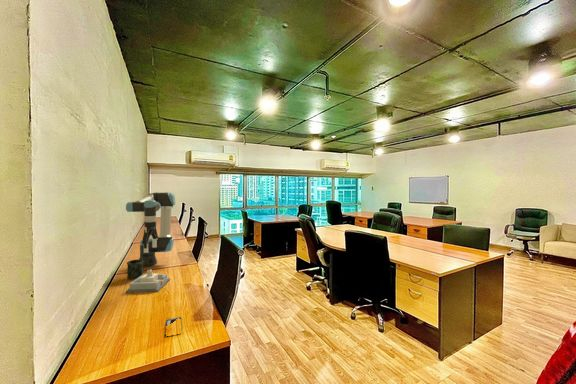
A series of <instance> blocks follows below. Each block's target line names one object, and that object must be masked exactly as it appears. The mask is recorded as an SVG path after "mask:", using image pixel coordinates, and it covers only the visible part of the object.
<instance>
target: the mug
mask: <svg viewBox="0 0 576 384" xmlns="http://www.w3.org/2000/svg"><path fill="white" fill-rule="evenodd" d="M143 261H144V260H141V259H132V260H128V261H127V262H126V265H127V269H126V271H127V272H126V273H127V275H126V277H127V280H136V279H137V278H138V277H140V276H141V275H144V267H143Z"/></svg>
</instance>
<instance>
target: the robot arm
mask: <svg viewBox="0 0 576 384" xmlns="http://www.w3.org/2000/svg"><path fill="white" fill-rule="evenodd" d="M175 205H176V196H175V194H174V192H152V193H149V194H146V195H143V197H142V198H140V199H138V200H136V201H130V202H129V201H128V202H127V203H126V204H125V211H126V212H127V213H143V214H144V217H143V220H144V224H143V225H144V227H145V228H146V229H144V231H143V235H142V239H141V240H140V241H139V257H138V258H139V259H141V260H144V261H143V268H147V267H152V266H155V265H157V264H158V259H157V257H156V253H167V252H168V253H169V252H171V251H172V250H173V248H174V244H175V240H174V238H173V236H172V235H171V226H172V225H171V224H172V223H171V222H172V209H173V207H174V206H175ZM158 211H160V218H159V219H160V221H159V233H158V231H157V212H158ZM158 234H159V235H158Z"/></svg>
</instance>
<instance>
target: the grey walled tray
mask: <svg viewBox="0 0 576 384" xmlns="http://www.w3.org/2000/svg"><path fill="white" fill-rule="evenodd" d="M144 275H145V274H143V275H141V276H140V277H138V278H137V279H133V281H131V282H130V283H129V288H128V289H127V290H125V293H127V294H129V293H130V294H131V293H132V294H133V293H151V292H152V293H156V292H157V293H158V292H159V291H160V290H161V289H163V288H164V287H165V286H166V285H167V284H168V283H169V282H170V281H171V278H168V274H167V273H158V280H157V281H156V282H143V283H140V278H141V277H142V276H144ZM161 280H164V283H163V284H162V285H161Z"/></svg>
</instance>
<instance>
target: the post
mask: <svg viewBox="0 0 576 384" xmlns="http://www.w3.org/2000/svg"><path fill="white" fill-rule="evenodd" d="M146 274H147V277H151V276H152V274H153V269H152V268H151V269H149V268H148V269H147V270H146Z"/></svg>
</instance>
